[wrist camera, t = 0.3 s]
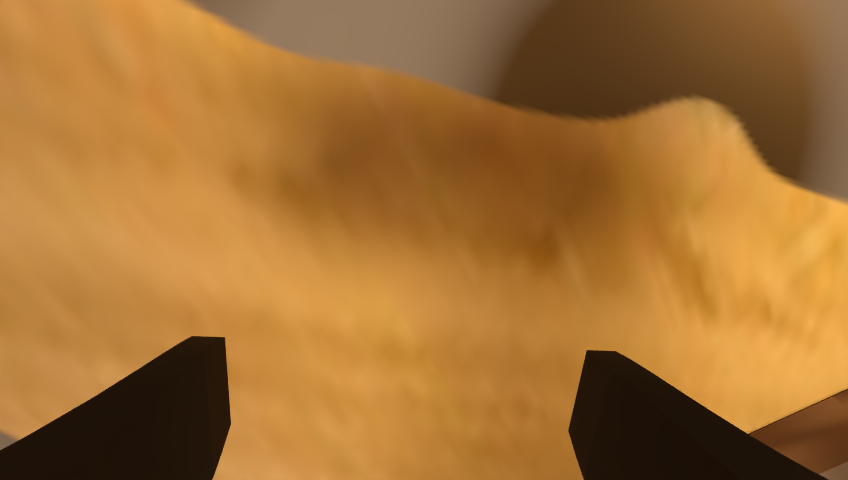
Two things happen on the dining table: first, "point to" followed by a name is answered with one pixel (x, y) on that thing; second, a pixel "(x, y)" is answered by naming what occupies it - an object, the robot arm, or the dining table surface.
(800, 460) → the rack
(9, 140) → the dining table surface
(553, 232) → the dining table surface
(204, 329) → the dining table surface
